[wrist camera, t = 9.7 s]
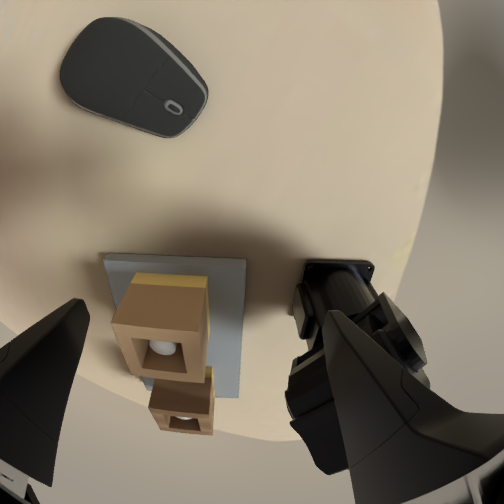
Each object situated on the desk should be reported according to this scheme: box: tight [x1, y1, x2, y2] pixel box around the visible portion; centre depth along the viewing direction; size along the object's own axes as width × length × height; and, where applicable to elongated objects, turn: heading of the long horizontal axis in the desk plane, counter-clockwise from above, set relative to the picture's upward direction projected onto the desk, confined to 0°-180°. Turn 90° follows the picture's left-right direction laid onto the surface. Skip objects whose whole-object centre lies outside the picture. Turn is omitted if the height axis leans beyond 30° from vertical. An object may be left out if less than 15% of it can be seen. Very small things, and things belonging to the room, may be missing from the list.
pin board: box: [103, 253, 246, 420], centre depth 23 cm, size 20×12×7 cm, turn 176°
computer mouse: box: [60, 17, 208, 138], centre depth 13 cm, size 7×12×4 cm, turn 49°
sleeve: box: [148, 366, 215, 435], centre depth 26 cm, size 6×6×6 cm
